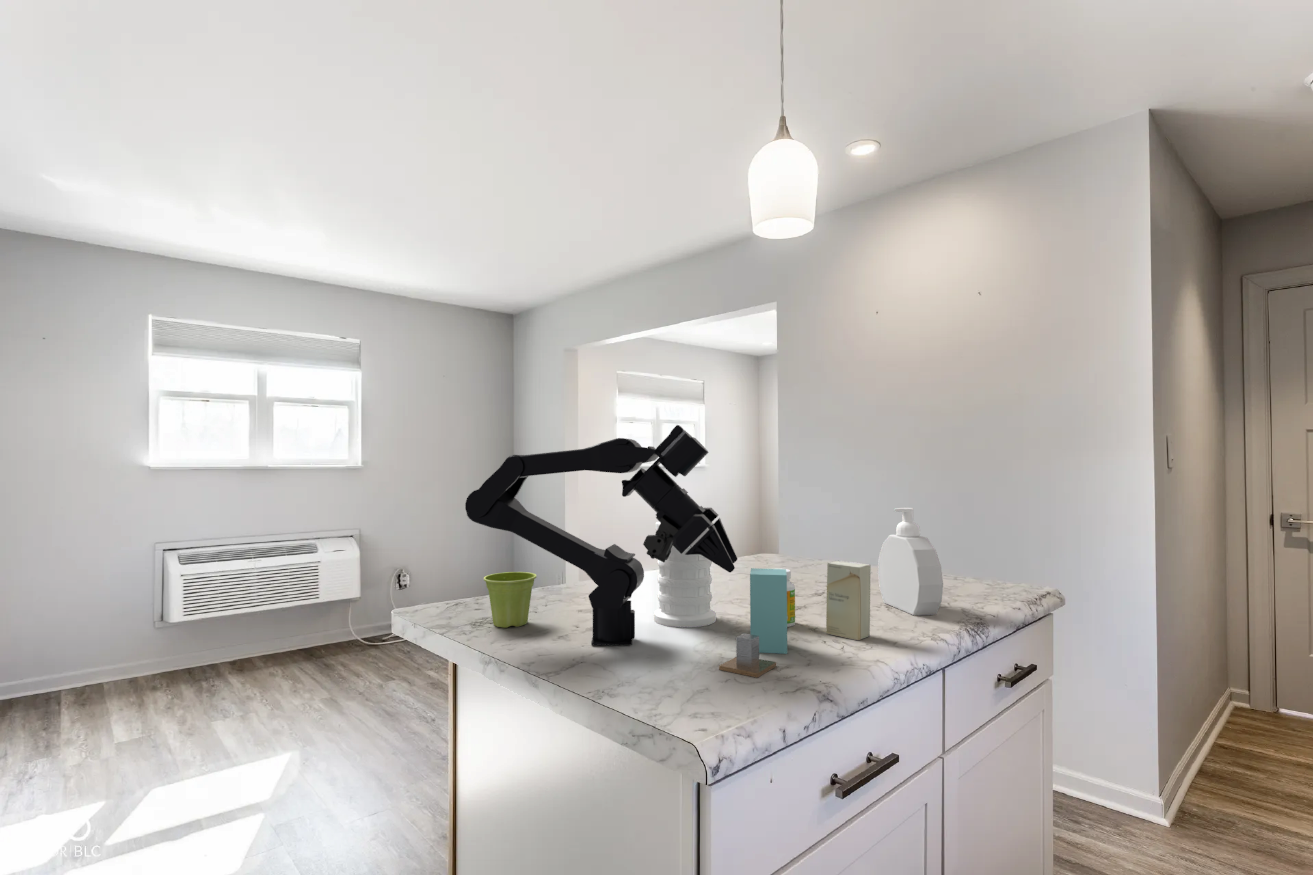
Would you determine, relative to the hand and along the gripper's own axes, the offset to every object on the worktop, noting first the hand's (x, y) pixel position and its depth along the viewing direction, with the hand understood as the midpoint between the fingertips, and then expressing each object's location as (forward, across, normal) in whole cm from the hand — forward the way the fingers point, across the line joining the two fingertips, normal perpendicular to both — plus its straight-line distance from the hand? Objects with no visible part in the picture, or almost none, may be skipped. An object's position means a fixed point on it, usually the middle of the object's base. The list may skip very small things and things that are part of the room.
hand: (734, 565), depth 107 cm
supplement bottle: (+14, -16, -4) cm, 22 cm away
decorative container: (+2, -16, -16) cm, 23 cm away
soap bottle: (+32, -32, +14) cm, 47 cm away
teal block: (+13, 0, -5) cm, 14 cm away
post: (+11, +11, -7) cm, 17 cm away
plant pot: (-20, -8, -38) cm, 44 cm away
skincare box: (+22, -10, +4) cm, 25 cm away
